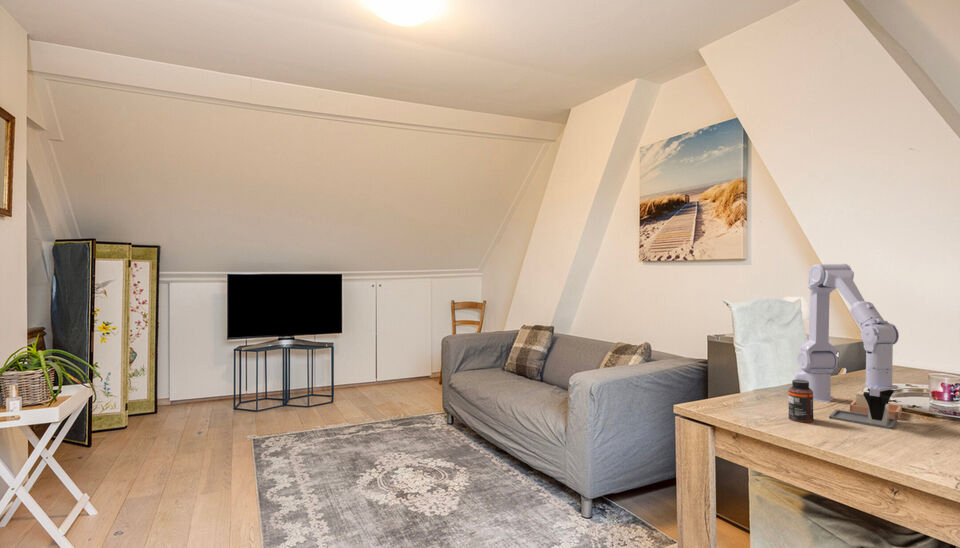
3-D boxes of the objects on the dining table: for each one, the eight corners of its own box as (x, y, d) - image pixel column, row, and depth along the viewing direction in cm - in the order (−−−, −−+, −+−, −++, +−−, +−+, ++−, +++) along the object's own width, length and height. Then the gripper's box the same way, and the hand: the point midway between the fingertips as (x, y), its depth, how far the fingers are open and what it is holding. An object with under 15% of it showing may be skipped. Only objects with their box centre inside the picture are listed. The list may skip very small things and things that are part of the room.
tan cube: (856, 410, 153) (856, 393, 152) (858, 407, 155) (858, 391, 155) (873, 413, 150) (873, 396, 150) (875, 410, 153) (875, 393, 152)
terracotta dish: (849, 413, 152) (849, 404, 152) (855, 406, 158) (855, 398, 158) (897, 421, 144) (897, 412, 144) (901, 414, 150) (901, 405, 150)
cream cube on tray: (868, 422, 142) (868, 404, 142) (870, 419, 145) (870, 401, 144) (886, 425, 139) (886, 407, 139) (888, 422, 142) (888, 404, 142)
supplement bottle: (810, 418, 147) (810, 379, 147) (816, 425, 141) (816, 384, 141) (786, 417, 149) (786, 377, 149) (791, 423, 143) (791, 382, 143)
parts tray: (829, 419, 146) (829, 416, 146) (835, 412, 152) (836, 409, 152) (892, 430, 136) (892, 427, 136) (896, 422, 143) (896, 419, 142)
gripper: (894, 374, 133) (893, 426, 134) (901, 365, 144) (900, 414, 144) (860, 370, 138) (859, 421, 139) (869, 362, 149) (869, 409, 149)
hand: (878, 417), depth 142 cm, fingers open, 5 cm apart
